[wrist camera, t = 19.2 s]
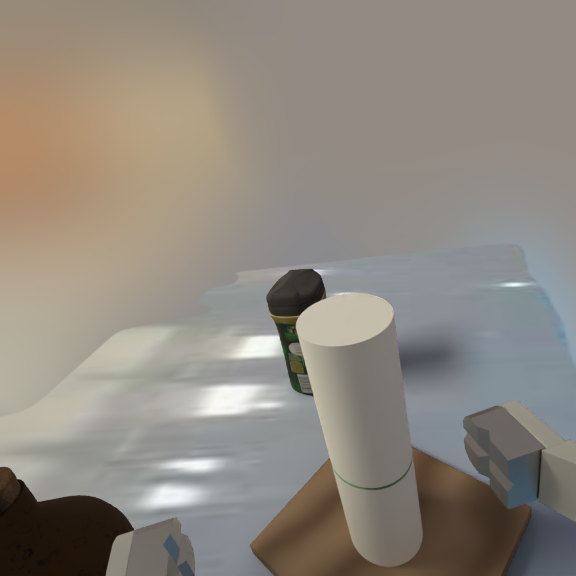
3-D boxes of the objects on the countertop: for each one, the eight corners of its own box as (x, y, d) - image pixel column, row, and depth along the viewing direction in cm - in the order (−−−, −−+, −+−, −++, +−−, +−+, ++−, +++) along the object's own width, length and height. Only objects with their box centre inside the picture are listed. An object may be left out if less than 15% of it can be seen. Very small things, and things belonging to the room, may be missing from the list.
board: (253, 553, 41) (249, 545, 40) (363, 430, 52) (362, 421, 52) (431, 742, 27) (430, 733, 26) (530, 516, 38) (531, 507, 37)
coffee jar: (303, 358, 70) (279, 265, 62) (346, 359, 67) (326, 262, 59) (285, 396, 62) (255, 295, 54) (333, 399, 59) (307, 293, 51)
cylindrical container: (409, 489, 42) (380, 286, 31) (433, 560, 35) (406, 333, 25) (344, 501, 42) (294, 304, 32) (356, 572, 36) (297, 355, 25)
